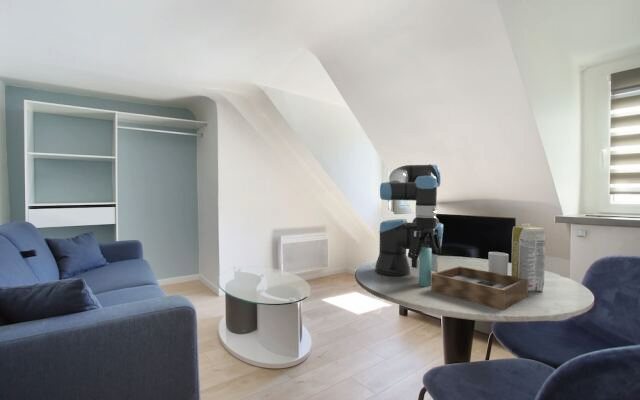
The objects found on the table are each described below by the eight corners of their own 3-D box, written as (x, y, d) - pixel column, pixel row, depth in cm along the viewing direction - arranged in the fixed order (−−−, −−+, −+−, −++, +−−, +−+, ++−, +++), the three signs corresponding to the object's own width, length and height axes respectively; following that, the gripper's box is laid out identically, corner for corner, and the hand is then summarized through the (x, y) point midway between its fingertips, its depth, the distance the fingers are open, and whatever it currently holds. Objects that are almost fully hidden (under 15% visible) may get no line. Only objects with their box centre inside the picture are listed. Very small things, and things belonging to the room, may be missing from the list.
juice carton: (532, 285, 121) (533, 222, 120) (547, 292, 113) (549, 225, 112) (508, 285, 121) (509, 222, 120) (521, 291, 113) (523, 224, 112)
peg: (416, 284, 121) (416, 248, 121) (423, 282, 124) (423, 246, 123) (426, 287, 117) (427, 249, 117) (433, 285, 120) (434, 248, 120)
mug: (510, 287, 118) (511, 255, 117) (491, 286, 119) (492, 254, 119) (500, 280, 128) (501, 250, 127) (482, 279, 129) (483, 250, 129)
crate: (431, 290, 113) (431, 273, 113) (459, 281, 126) (459, 266, 126) (503, 310, 95) (503, 290, 95) (527, 296, 107) (528, 279, 107)
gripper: (415, 218, 110) (414, 281, 110) (451, 216, 125) (450, 270, 125) (398, 217, 115) (397, 276, 116) (434, 215, 131) (433, 267, 131)
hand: (425, 273), depth 120 cm, fingers open, 12 cm apart
